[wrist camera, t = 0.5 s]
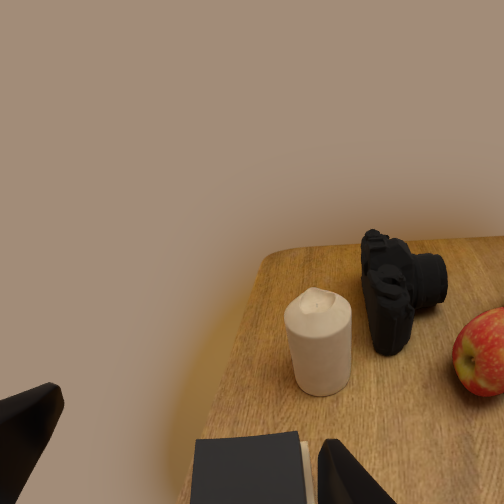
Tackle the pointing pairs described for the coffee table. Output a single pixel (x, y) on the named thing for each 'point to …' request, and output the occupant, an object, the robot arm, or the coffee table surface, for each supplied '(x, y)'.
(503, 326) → the apple
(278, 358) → the coffee table surface
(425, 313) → the coffee table surface
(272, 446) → the black block
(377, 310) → the film camera
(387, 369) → the coffee table surface
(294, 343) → the candle
